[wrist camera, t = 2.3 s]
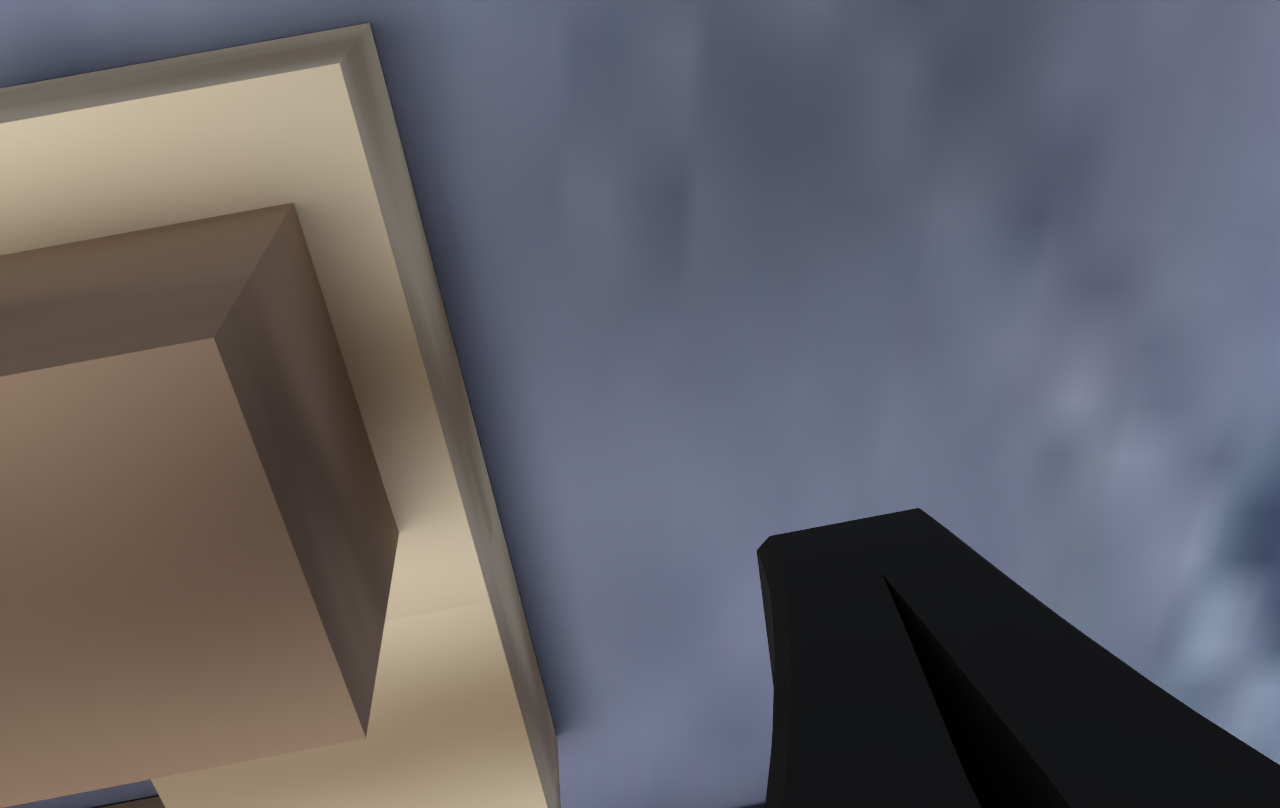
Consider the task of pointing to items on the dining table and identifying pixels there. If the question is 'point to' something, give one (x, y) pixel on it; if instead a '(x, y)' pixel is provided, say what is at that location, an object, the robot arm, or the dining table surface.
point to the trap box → (377, 367)
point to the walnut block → (180, 509)
